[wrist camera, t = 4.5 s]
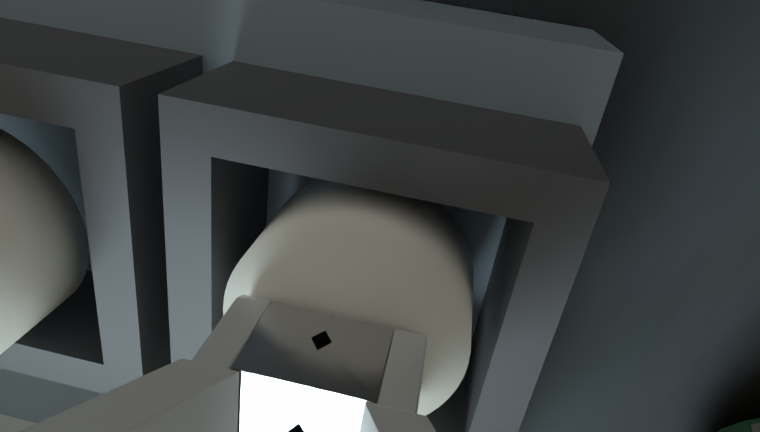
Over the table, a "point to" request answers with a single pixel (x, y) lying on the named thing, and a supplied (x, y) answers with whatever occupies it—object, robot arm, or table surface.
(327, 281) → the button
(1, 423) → the pattern card
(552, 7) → the table surface
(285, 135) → the button board
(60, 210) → the middle button
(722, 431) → the alien toy
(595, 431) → the table surface
